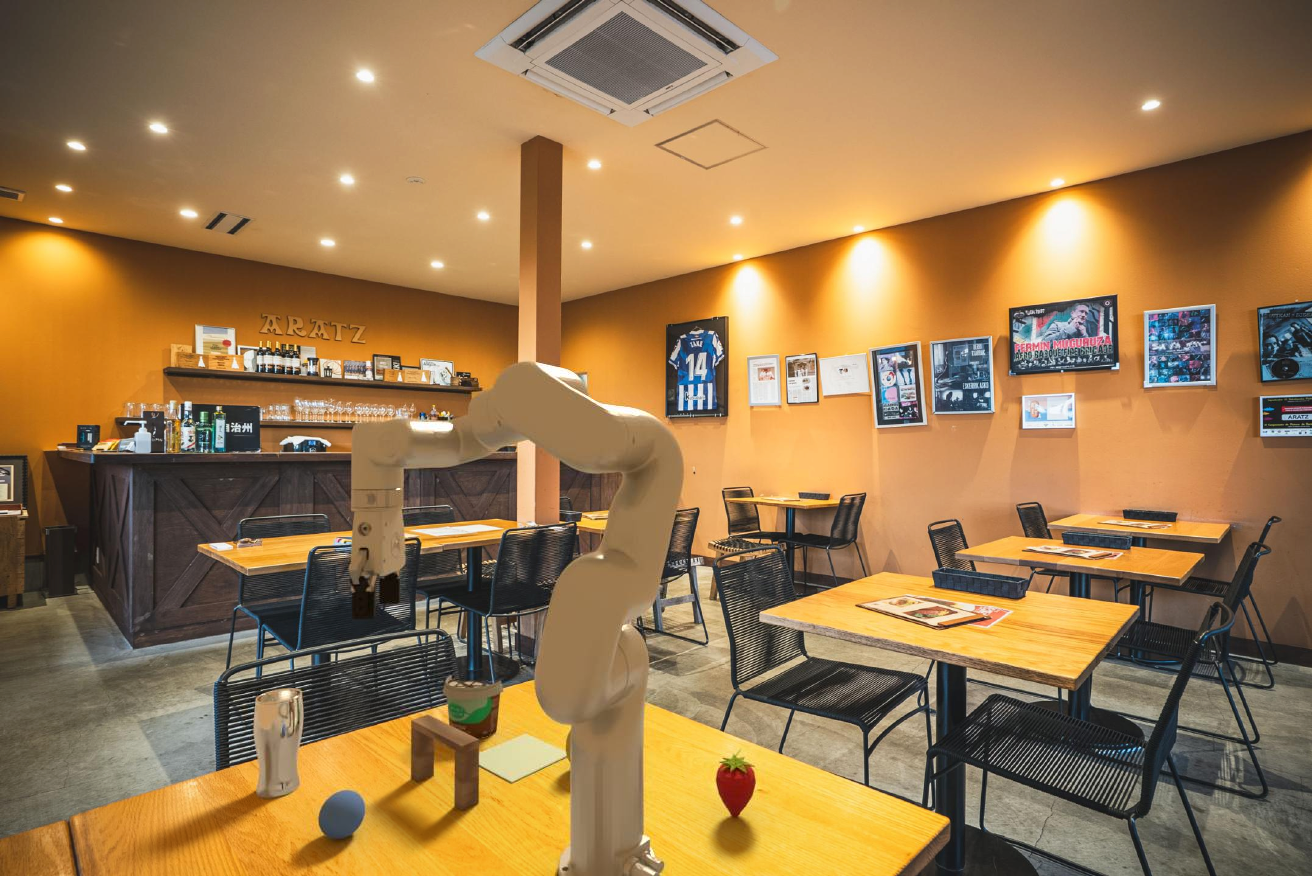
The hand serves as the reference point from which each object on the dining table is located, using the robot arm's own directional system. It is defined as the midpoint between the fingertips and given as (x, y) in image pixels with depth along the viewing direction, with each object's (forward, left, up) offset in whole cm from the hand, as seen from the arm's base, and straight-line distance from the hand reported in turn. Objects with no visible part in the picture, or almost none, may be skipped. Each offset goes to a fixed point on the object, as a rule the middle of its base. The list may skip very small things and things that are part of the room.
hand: (377, 610), depth 101 cm
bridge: (-4, -9, -30) cm, 31 cm away
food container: (+11, -23, -30) cm, 39 cm away
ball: (-4, +7, -27) cm, 28 cm away
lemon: (-16, -28, -30) cm, 44 cm away
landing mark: (-4, -24, -30) cm, 38 cm away
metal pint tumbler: (+17, +8, -30) cm, 35 cm away
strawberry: (-44, -33, -30) cm, 63 cm away
